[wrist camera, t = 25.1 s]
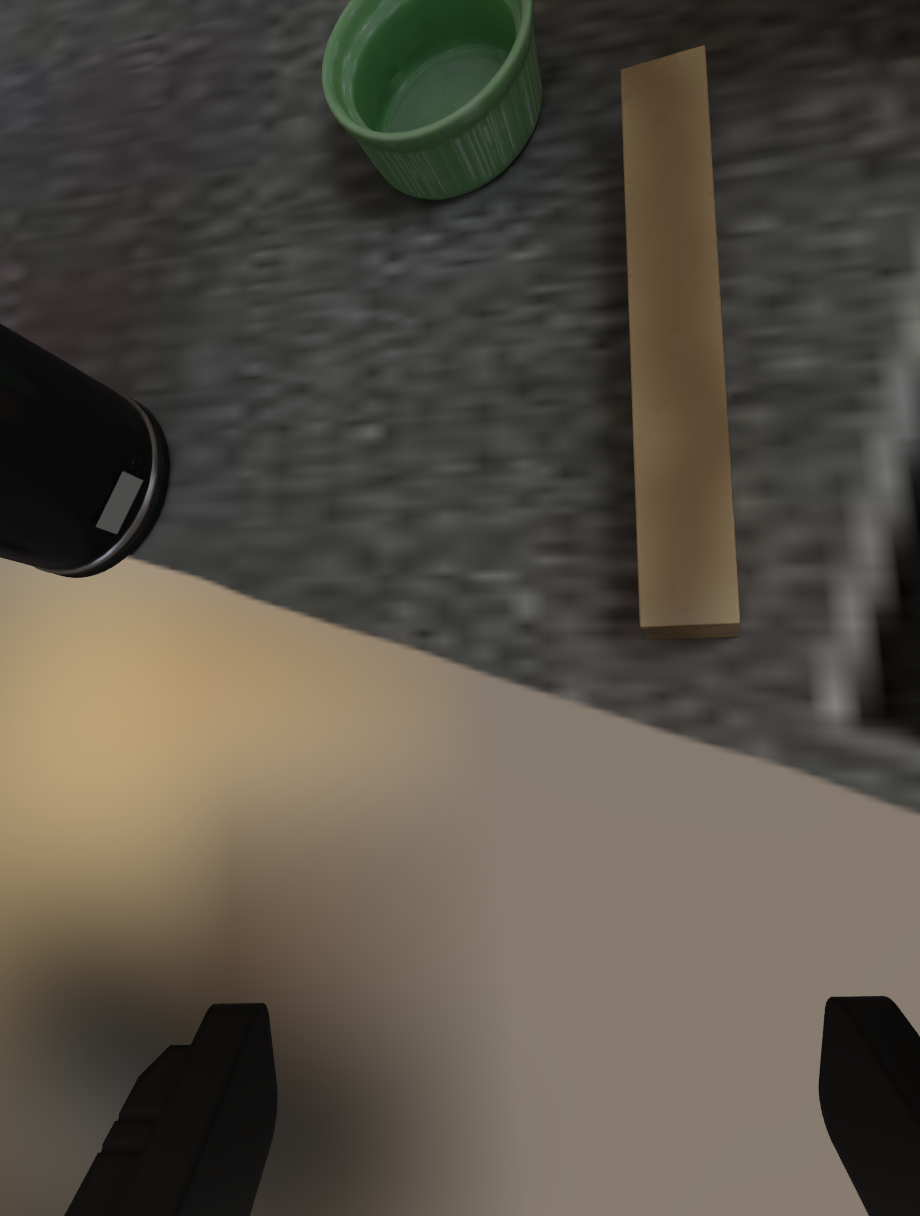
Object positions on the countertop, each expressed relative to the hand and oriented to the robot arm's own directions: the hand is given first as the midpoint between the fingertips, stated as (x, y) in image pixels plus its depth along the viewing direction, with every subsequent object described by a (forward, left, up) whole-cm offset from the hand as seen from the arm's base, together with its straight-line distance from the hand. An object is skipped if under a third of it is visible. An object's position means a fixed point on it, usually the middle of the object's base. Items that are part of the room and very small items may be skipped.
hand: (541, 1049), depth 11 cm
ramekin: (-7, +32, -15) cm, 36 cm away
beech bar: (+2, +19, -15) cm, 24 cm away
